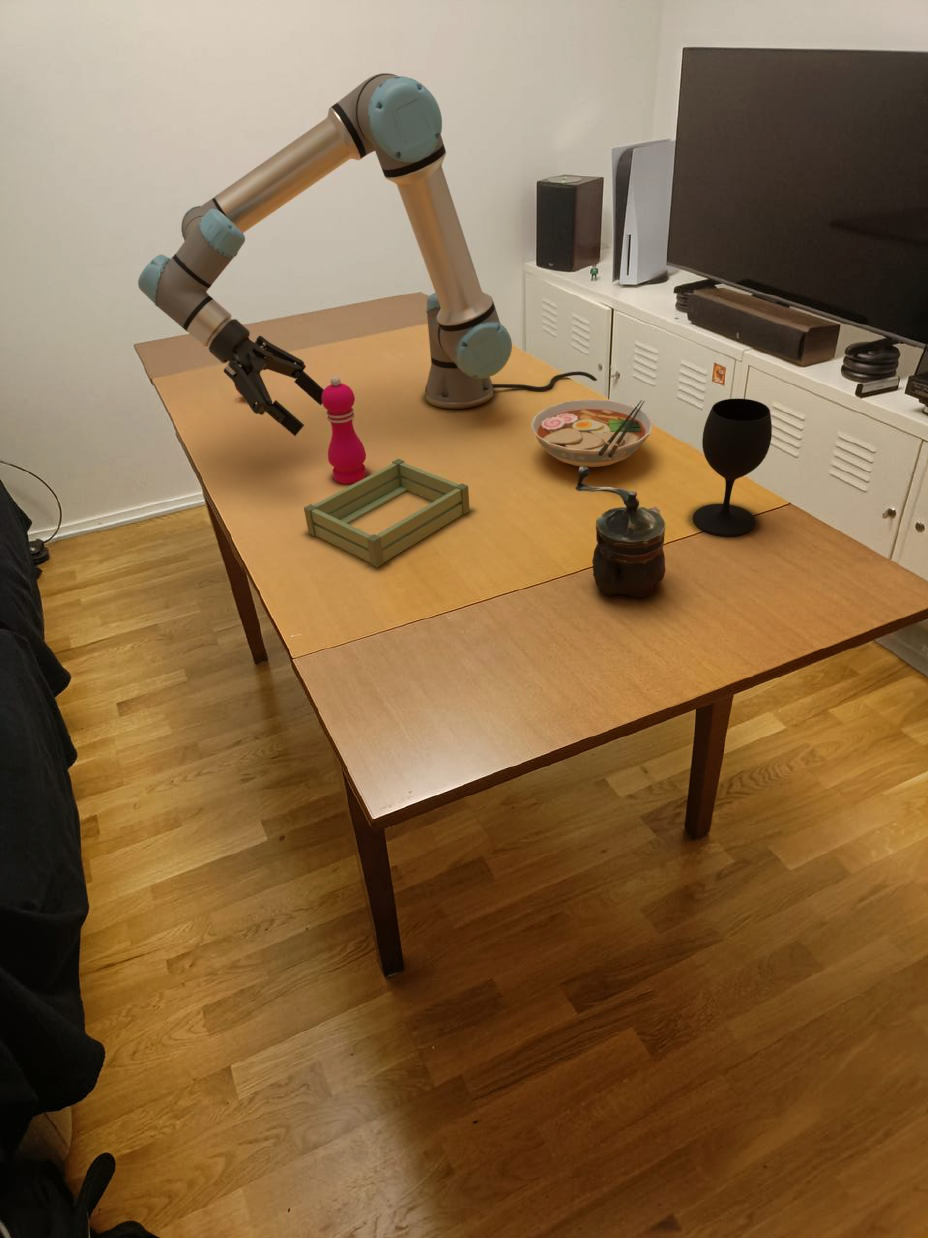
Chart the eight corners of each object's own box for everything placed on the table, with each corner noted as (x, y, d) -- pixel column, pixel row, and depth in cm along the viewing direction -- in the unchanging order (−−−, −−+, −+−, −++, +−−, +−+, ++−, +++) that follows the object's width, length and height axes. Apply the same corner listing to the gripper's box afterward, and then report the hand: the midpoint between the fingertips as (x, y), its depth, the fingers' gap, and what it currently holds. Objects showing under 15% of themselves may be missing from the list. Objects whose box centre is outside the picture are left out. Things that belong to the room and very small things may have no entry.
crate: (401, 483, 160) (398, 458, 157) (469, 511, 150) (468, 485, 147) (308, 533, 147) (303, 507, 144) (377, 568, 138) (373, 541, 134)
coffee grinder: (587, 553, 138) (591, 452, 127) (675, 575, 131) (687, 471, 120) (553, 594, 129) (554, 489, 118) (645, 620, 123) (655, 512, 112)
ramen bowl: (557, 424, 177) (558, 386, 172) (665, 440, 168) (669, 401, 163) (510, 477, 159) (509, 438, 154) (627, 499, 151) (630, 457, 146)
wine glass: (757, 509, 145) (777, 398, 133) (753, 540, 138) (774, 426, 126) (696, 502, 148) (710, 393, 136) (688, 532, 141) (702, 420, 129)
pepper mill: (332, 469, 166) (315, 370, 154) (368, 466, 167) (355, 367, 154) (330, 486, 161) (313, 385, 148) (368, 483, 161) (354, 382, 149)
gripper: (238, 324, 163) (324, 400, 169) (177, 373, 144) (276, 457, 150) (258, 296, 158) (345, 375, 165) (198, 343, 139) (299, 431, 145)
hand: (313, 415), depth 157 cm, fingers open, 13 cm apart
